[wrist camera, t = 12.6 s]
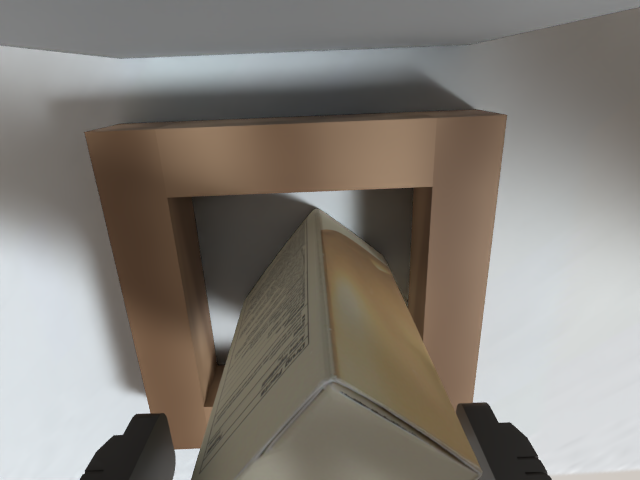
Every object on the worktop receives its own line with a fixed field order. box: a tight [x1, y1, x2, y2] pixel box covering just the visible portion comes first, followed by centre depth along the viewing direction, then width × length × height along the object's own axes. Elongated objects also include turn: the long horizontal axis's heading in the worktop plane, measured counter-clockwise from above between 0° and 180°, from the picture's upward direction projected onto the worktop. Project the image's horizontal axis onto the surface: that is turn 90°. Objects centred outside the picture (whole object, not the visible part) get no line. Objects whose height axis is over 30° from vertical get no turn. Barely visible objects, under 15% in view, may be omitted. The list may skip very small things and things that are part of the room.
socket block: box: [84, 109, 507, 449], centre depth 19 cm, size 15×15×3 cm
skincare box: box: [191, 209, 482, 480], centre depth 15 cm, size 6×4×12 cm
